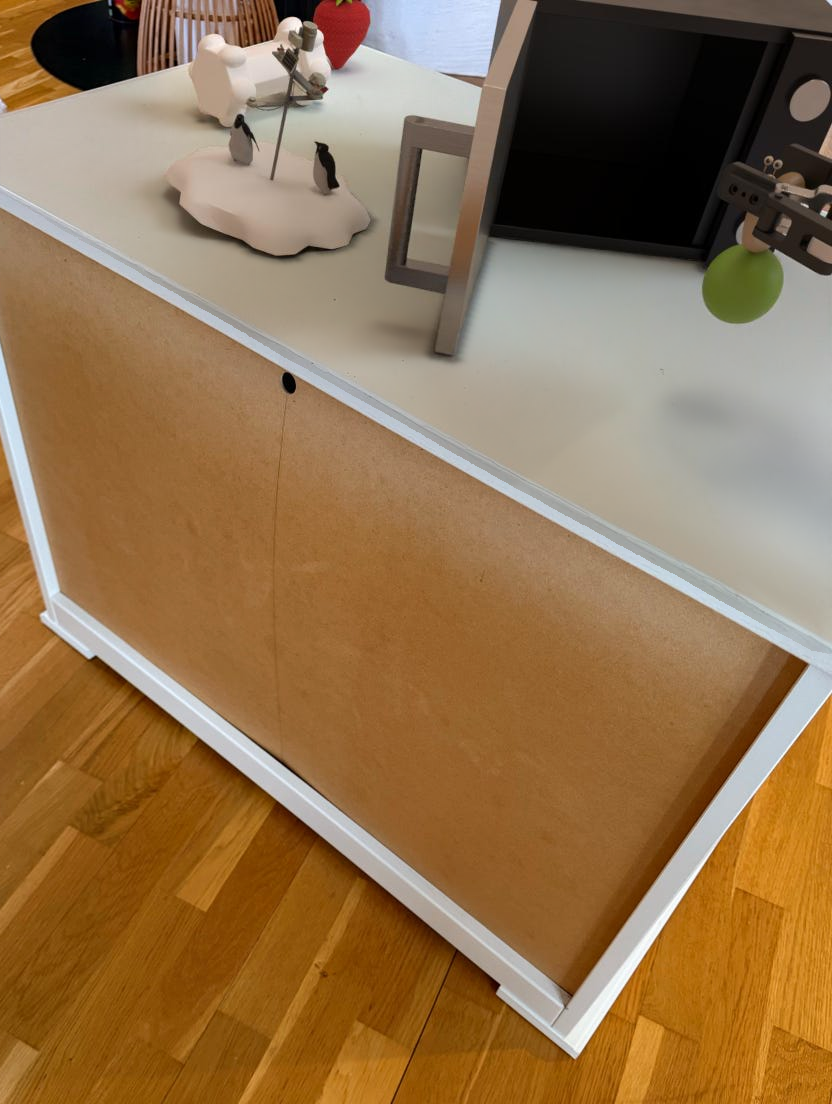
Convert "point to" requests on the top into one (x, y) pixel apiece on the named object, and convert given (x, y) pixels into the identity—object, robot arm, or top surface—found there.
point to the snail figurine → (746, 271)
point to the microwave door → (480, 186)
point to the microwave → (656, 117)
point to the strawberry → (342, 28)
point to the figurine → (272, 179)
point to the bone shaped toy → (249, 72)
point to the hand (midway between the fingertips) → (753, 168)
